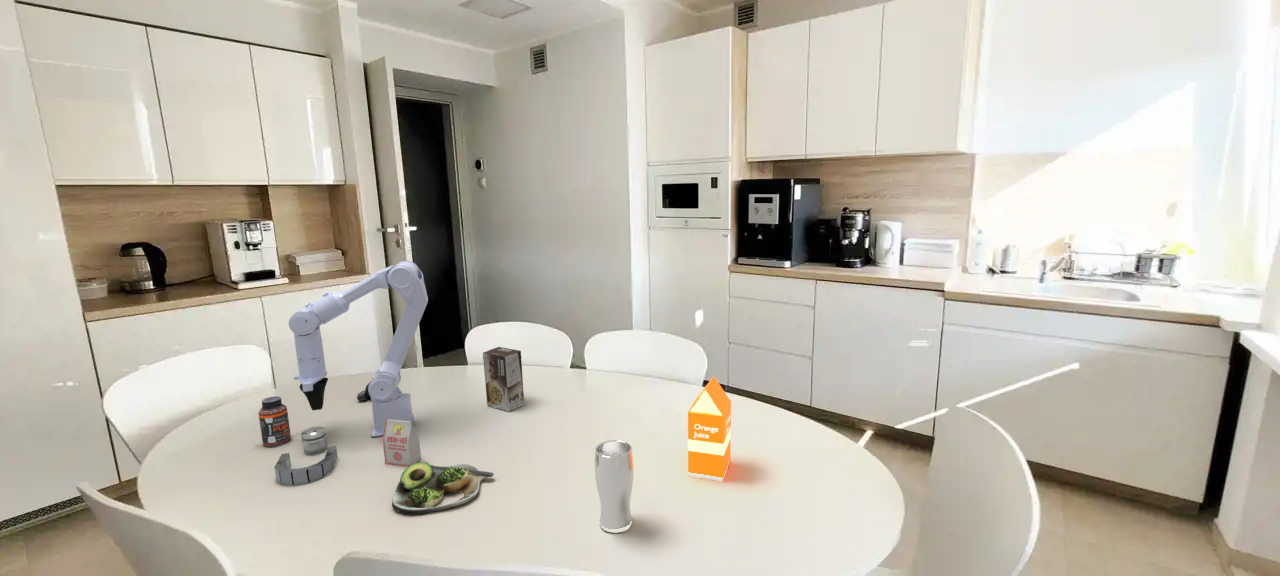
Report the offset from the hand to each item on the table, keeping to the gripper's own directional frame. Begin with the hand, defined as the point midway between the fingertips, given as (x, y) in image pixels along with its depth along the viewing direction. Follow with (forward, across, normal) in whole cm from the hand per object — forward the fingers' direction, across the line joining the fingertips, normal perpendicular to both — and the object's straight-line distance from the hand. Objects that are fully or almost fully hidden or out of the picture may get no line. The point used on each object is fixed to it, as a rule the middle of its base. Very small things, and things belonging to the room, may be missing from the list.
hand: (317, 409), depth 139 cm
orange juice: (+8, +52, +83) cm, 98 cm away
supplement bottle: (+8, -2, -10) cm, 13 cm away
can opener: (+8, -29, +11) cm, 32 cm away
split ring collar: (+8, +18, 0) cm, 20 cm away
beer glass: (+8, +62, +58) cm, 86 cm away
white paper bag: (+8, +22, +20) cm, 30 cm away
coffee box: (+8, -2, +46) cm, 47 cm away
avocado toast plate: (+8, +38, +27) cm, 47 cm away
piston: (+8, +8, 0) cm, 11 cm away
